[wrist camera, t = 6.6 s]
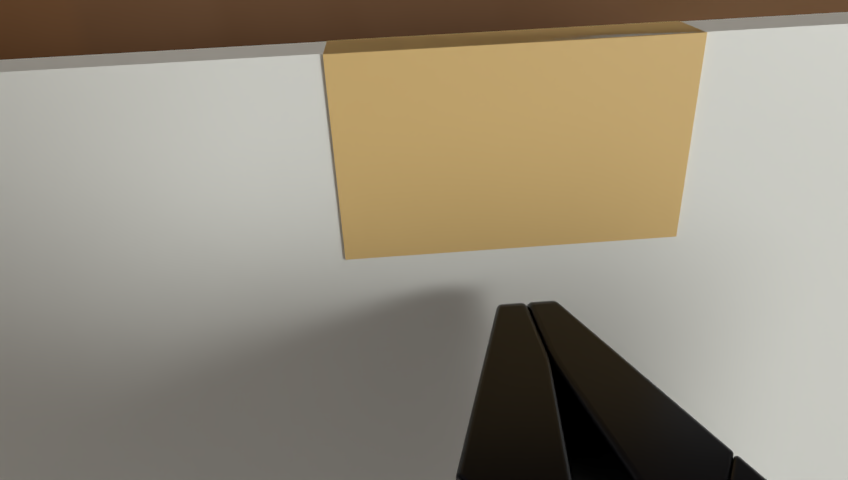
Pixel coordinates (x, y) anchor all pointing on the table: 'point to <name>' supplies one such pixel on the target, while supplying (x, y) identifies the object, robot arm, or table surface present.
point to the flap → (417, 242)
